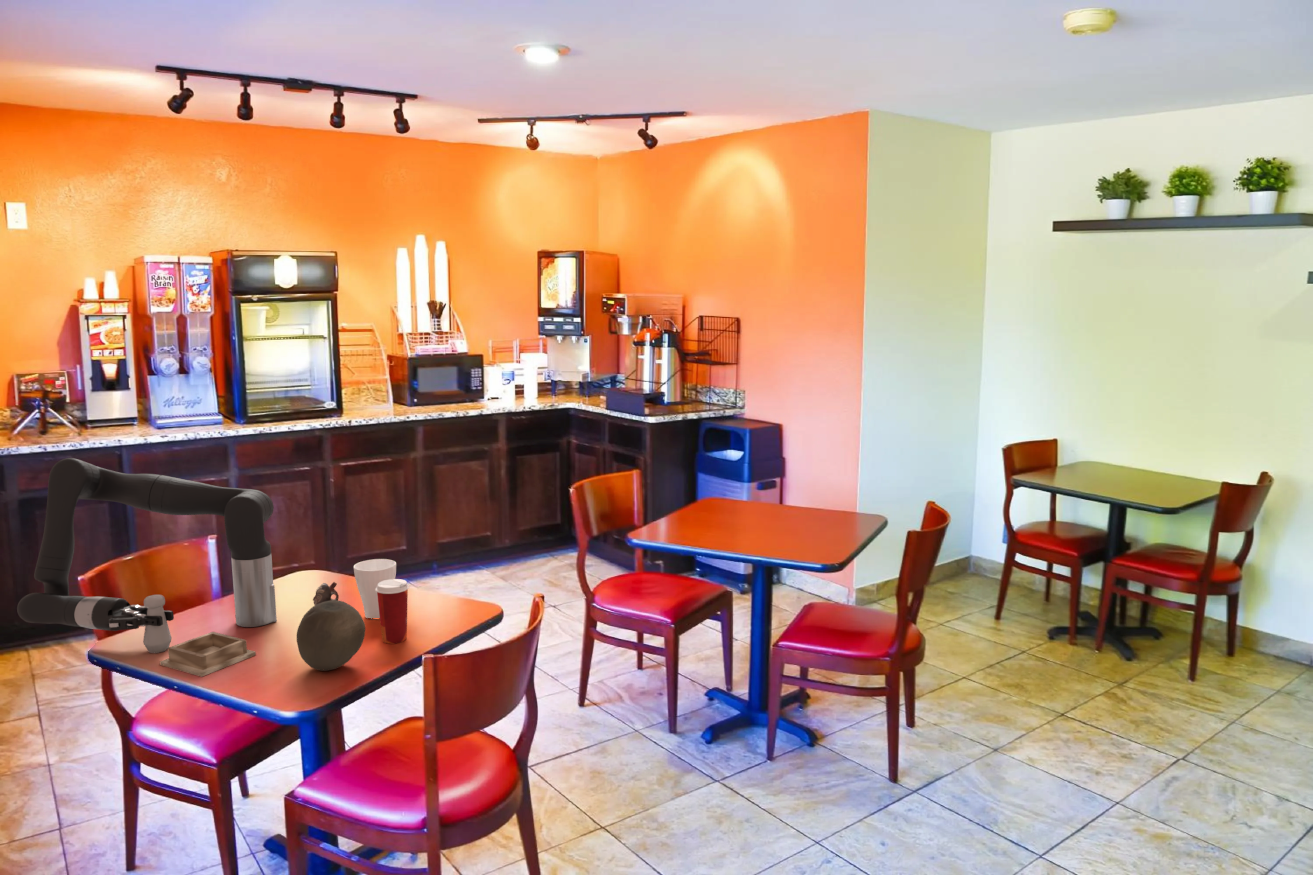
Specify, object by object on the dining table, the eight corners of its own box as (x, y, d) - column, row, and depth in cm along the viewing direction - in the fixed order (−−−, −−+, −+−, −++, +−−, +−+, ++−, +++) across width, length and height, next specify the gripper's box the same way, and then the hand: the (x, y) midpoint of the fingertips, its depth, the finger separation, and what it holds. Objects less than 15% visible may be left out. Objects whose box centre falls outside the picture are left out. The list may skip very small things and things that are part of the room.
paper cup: (417, 636, 228) (415, 580, 226) (396, 647, 221) (394, 589, 219) (392, 631, 231) (389, 576, 229) (370, 642, 224) (367, 585, 222)
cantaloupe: (306, 686, 199) (302, 618, 197) (292, 663, 211) (288, 599, 209) (373, 671, 207) (370, 606, 204) (356, 651, 219) (353, 588, 216)
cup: (407, 613, 244) (404, 562, 242) (375, 625, 235) (372, 573, 233) (379, 606, 250) (376, 556, 248) (347, 617, 241) (344, 566, 239)
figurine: (311, 627, 234) (309, 580, 232) (341, 623, 237) (339, 577, 235) (313, 636, 228) (310, 589, 226) (344, 632, 230) (341, 585, 228)
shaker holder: (215, 644, 223) (213, 628, 222) (255, 654, 216) (254, 639, 216) (160, 664, 211) (158, 648, 210) (201, 676, 204) (200, 660, 204)
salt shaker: (160, 655, 216) (155, 601, 214) (138, 653, 217) (133, 599, 215) (177, 646, 222) (173, 593, 219) (156, 644, 223) (152, 591, 221)
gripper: (77, 607, 214) (143, 613, 210) (123, 588, 227) (186, 593, 224) (80, 639, 215) (146, 645, 211) (126, 618, 228) (189, 623, 225)
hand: (166, 618), depth 218 cm, fingers closed on salt shaker, 3 cm apart
